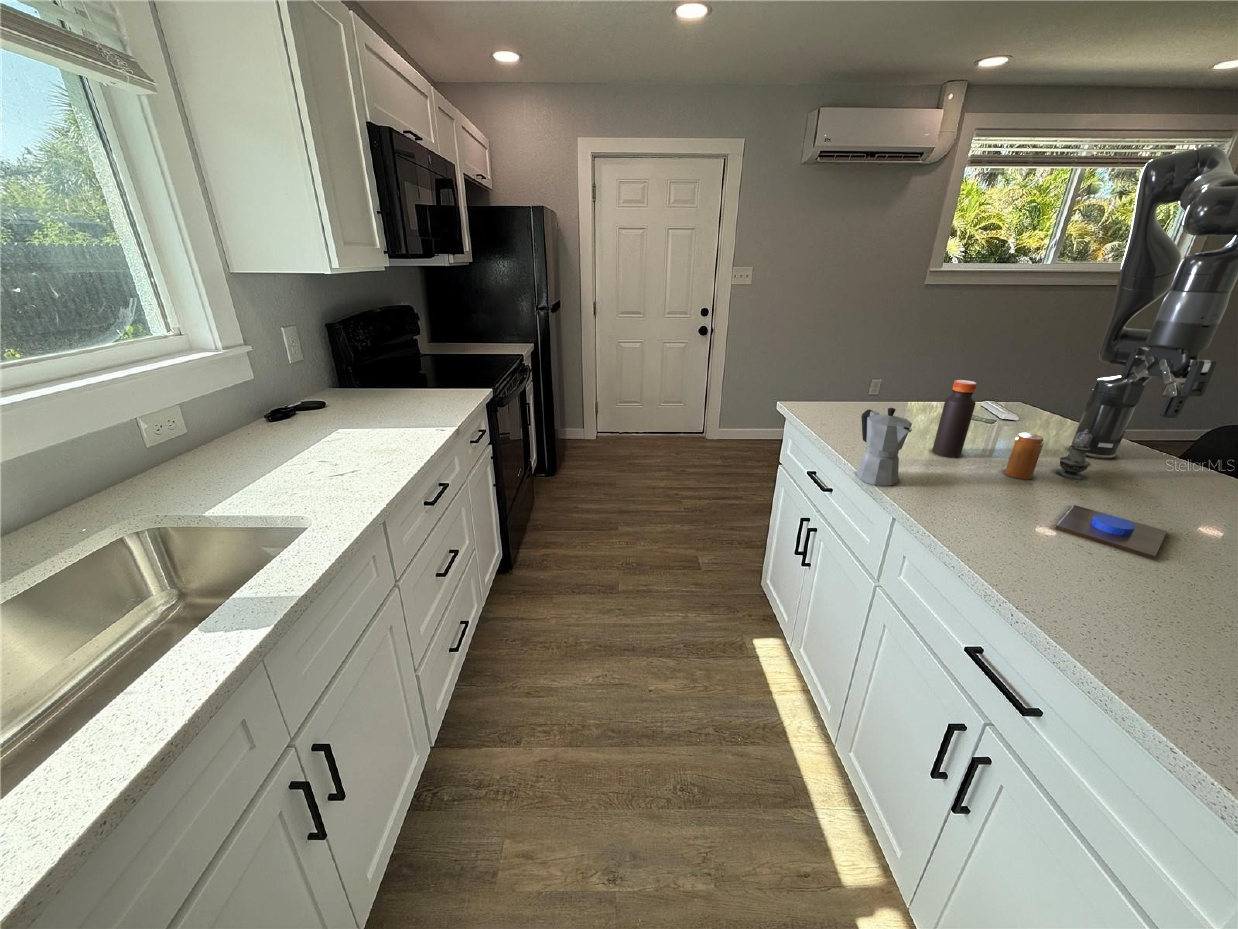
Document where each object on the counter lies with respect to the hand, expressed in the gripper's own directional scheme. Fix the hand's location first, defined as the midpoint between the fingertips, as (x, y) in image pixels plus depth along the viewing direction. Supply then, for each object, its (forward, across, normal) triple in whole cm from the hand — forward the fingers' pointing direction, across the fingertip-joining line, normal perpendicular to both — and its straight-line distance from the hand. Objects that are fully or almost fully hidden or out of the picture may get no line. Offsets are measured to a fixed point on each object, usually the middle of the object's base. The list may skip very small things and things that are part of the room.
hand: (1147, 410), depth 90 cm
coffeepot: (+24, -18, -38) cm, 48 cm away
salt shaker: (+24, -27, +11) cm, 38 cm away
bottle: (+24, -38, -13) cm, 47 cm away
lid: (+22, +3, 0) cm, 22 cm away
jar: (+24, -25, -2) cm, 35 cm away
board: (+24, +3, 0) cm, 24 cm away
